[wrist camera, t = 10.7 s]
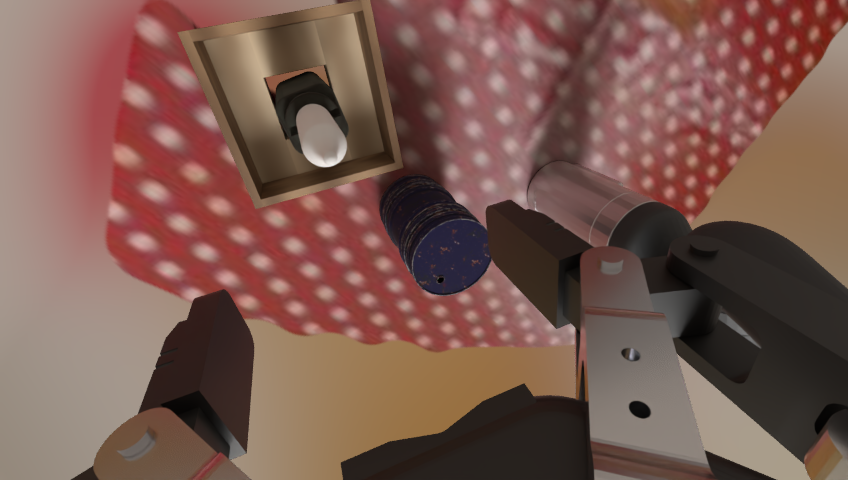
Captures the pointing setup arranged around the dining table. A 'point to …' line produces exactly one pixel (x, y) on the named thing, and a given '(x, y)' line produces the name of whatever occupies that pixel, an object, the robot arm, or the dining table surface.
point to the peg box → (254, 107)
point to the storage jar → (435, 235)
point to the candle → (312, 118)
